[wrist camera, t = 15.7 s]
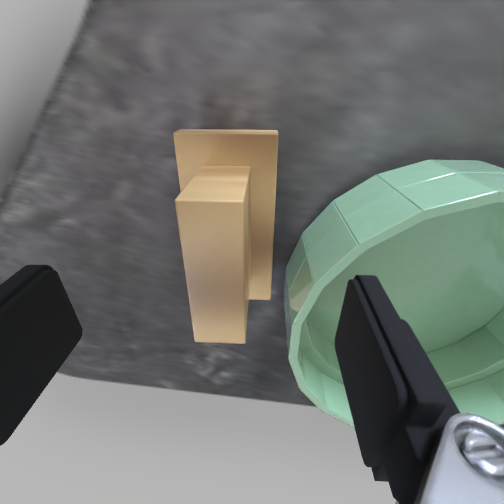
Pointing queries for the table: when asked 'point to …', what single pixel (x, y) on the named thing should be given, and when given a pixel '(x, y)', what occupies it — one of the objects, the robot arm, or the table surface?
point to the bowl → (408, 278)
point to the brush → (226, 225)
